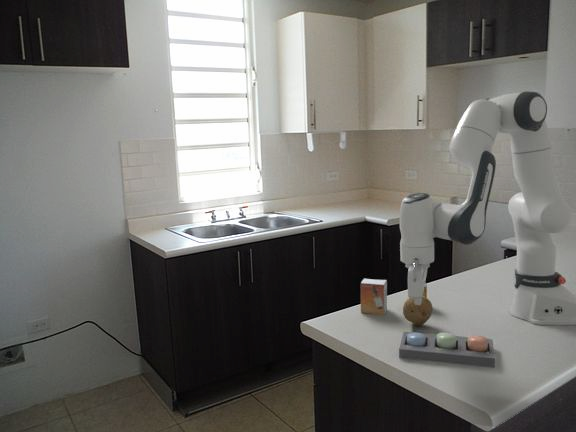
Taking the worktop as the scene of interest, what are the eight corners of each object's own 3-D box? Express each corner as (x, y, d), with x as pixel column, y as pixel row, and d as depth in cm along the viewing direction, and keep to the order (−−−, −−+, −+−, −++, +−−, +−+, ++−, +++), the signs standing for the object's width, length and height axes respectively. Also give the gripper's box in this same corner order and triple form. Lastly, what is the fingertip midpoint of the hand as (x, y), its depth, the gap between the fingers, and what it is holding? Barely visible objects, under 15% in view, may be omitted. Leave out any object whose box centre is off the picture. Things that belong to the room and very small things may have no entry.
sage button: (456, 343, 139) (456, 333, 139) (455, 351, 135) (456, 340, 134) (437, 342, 141) (437, 331, 140) (436, 349, 136) (436, 339, 136)
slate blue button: (426, 343, 142) (426, 333, 141) (424, 351, 137) (424, 340, 137) (407, 341, 144) (407, 331, 143) (406, 349, 139) (406, 339, 138)
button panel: (492, 347, 140) (492, 339, 139) (494, 367, 129) (495, 358, 128) (403, 339, 147) (403, 331, 147) (399, 357, 136) (399, 349, 136)
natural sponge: (427, 333, 151) (428, 302, 149) (398, 329, 155) (398, 298, 153) (435, 323, 158) (435, 292, 157) (407, 318, 163) (407, 289, 161)
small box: (360, 312, 170) (359, 282, 168) (364, 307, 175) (363, 278, 173) (384, 315, 167) (384, 284, 165) (387, 309, 172) (387, 279, 170)
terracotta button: (487, 346, 137) (487, 336, 136) (488, 354, 132) (488, 343, 131) (467, 344, 138) (467, 334, 138) (467, 352, 134) (468, 342, 133)
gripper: (427, 265, 125) (428, 318, 127) (431, 245, 144) (431, 291, 146) (401, 264, 127) (402, 316, 129) (408, 245, 146) (409, 290, 148)
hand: (418, 303), depth 138 cm, fingers closed
